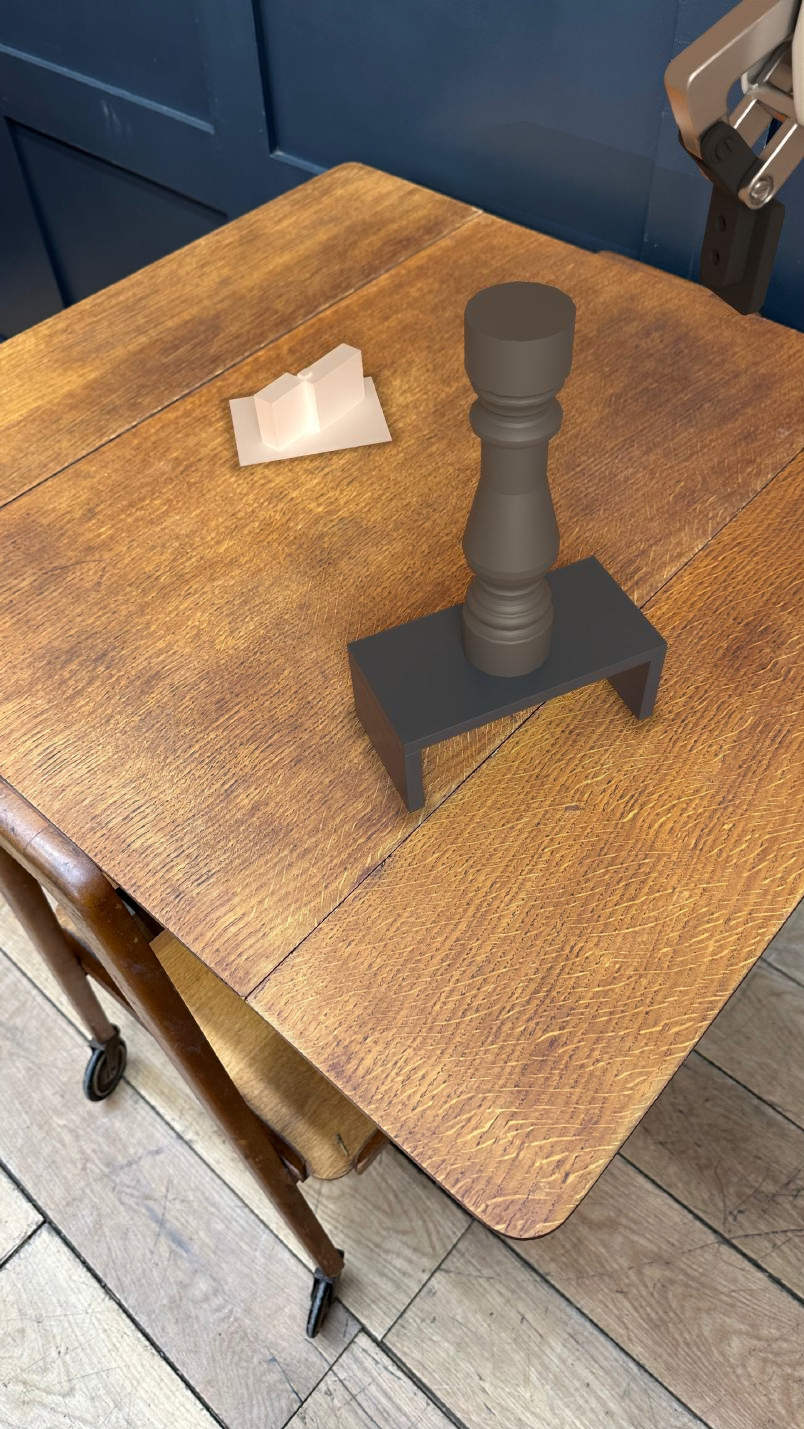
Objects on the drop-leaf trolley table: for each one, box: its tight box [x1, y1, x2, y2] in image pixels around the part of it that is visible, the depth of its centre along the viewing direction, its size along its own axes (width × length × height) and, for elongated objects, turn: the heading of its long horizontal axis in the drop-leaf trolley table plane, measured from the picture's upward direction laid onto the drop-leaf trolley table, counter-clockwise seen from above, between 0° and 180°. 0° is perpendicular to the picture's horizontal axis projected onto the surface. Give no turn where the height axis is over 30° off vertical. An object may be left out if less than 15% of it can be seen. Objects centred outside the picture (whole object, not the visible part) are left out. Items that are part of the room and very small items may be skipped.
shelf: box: [346, 555, 669, 814], centre depth 75 cm, size 20×10×8 cm, turn 114°
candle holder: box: [461, 280, 577, 677], centre depth 62 cm, size 6×6×25 cm
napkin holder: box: [228, 342, 393, 467], centre depth 100 cm, size 15×11×6 cm
